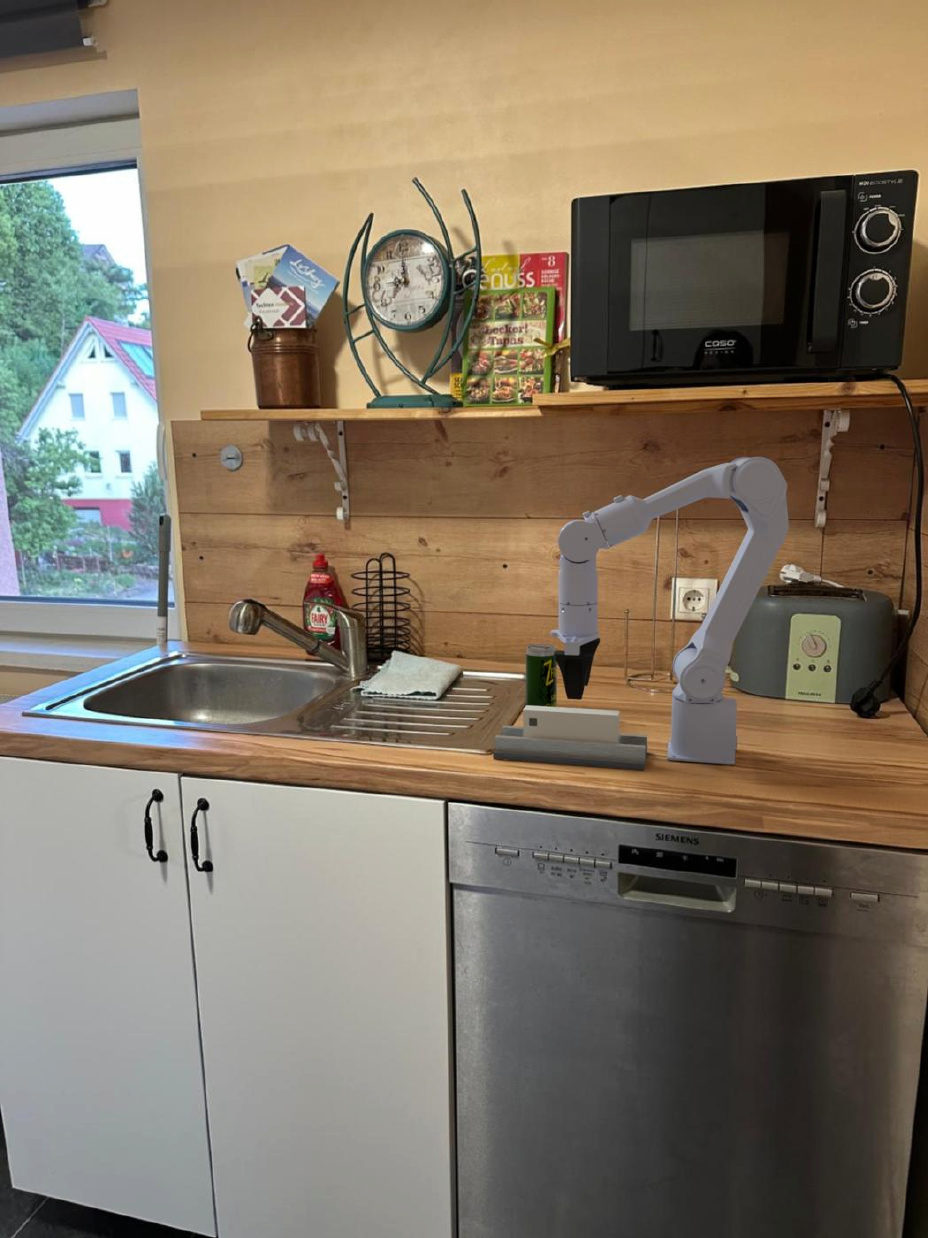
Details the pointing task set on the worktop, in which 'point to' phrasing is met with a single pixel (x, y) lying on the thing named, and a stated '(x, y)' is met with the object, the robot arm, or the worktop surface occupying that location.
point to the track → (572, 750)
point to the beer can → (541, 675)
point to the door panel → (571, 724)
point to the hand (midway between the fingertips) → (577, 691)
